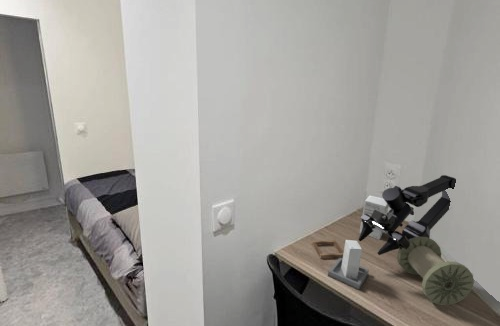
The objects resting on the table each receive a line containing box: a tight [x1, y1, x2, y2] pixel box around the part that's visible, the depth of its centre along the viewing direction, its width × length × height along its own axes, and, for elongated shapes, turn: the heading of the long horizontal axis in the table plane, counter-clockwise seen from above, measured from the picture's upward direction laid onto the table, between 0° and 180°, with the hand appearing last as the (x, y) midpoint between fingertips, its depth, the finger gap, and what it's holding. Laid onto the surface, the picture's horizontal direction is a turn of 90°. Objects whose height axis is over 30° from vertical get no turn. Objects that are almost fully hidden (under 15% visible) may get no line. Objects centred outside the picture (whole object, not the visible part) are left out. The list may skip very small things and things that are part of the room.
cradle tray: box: [327, 258, 370, 291], centre depth 100 cm, size 11×11×2 cm
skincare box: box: [341, 239, 363, 279], centre depth 99 cm, size 6×4×12 cm
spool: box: [396, 236, 475, 306], centre depth 94 cm, size 16×15×15 cm
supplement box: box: [359, 195, 390, 240], centre depth 130 cm, size 10×9×17 cm
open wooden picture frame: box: [311, 240, 344, 260], centre depth 115 cm, size 10×10×2 cm
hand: (368, 247), depth 100 cm, fingers open, 9 cm apart
